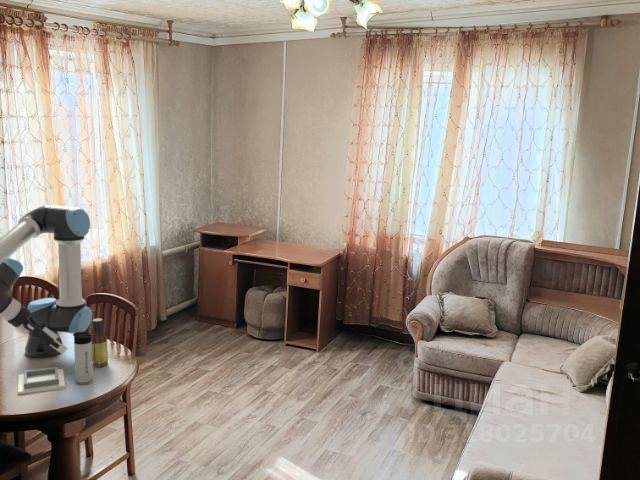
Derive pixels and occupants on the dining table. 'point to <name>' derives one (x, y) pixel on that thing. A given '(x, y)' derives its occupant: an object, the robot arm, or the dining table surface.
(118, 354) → the dining table surface
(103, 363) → the sauce bottle
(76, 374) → the travel mug
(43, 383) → the mug tray
